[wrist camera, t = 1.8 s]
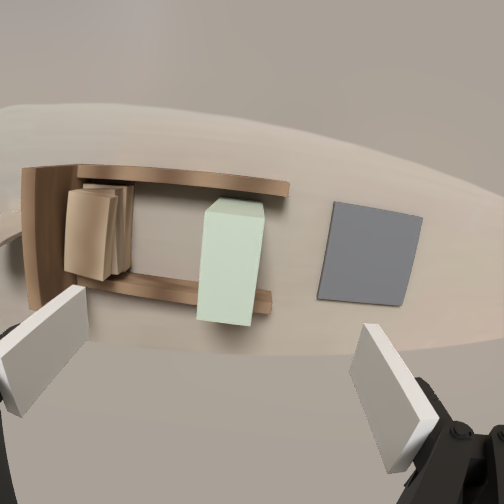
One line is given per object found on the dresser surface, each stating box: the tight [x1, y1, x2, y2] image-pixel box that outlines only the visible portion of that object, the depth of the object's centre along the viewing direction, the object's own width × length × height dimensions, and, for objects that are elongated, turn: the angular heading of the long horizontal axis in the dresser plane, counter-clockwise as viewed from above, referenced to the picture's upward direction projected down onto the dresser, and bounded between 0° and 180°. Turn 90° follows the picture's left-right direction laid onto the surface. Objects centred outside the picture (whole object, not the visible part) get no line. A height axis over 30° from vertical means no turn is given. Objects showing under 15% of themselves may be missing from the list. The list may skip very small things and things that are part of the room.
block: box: [197, 197, 265, 326], centre depth 27 cm, size 4×8×10 cm, turn 173°
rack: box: [21, 164, 290, 314], centre depth 27 cm, size 22×12×10 cm, turn 83°
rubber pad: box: [317, 202, 423, 306], centre depth 32 cm, size 10×10×1 cm
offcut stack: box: [64, 182, 134, 281], centre depth 29 cm, size 5×9×6 cm, turn 173°
